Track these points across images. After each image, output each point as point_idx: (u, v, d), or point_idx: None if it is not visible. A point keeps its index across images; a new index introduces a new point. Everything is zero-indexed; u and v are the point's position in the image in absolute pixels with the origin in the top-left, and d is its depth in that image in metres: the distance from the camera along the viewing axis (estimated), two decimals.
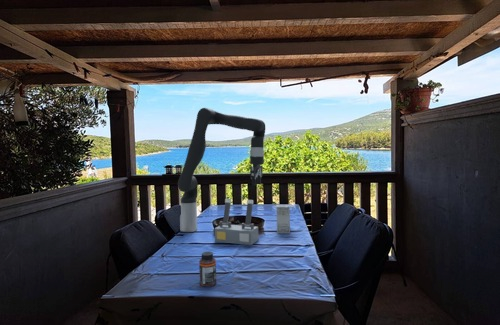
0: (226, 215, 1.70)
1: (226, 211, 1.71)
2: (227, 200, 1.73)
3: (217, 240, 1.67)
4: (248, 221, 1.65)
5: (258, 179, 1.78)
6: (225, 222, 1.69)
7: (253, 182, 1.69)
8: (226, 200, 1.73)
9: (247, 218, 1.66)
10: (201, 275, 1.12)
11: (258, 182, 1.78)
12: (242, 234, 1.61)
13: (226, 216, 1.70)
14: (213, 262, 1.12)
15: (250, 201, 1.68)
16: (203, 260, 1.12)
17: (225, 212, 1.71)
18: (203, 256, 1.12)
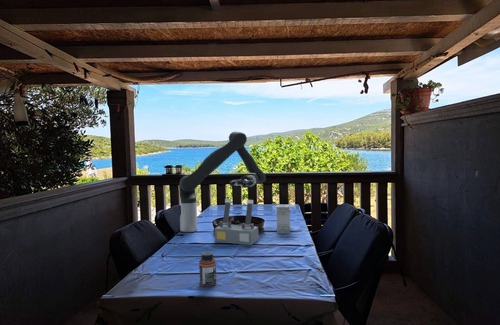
0: (226, 215, 1.70)
1: (226, 211, 1.71)
2: (227, 200, 1.73)
3: (217, 240, 1.67)
4: (248, 221, 1.65)
5: (233, 183, 1.89)
6: (225, 222, 1.69)
7: (246, 184, 1.84)
8: (226, 200, 1.73)
9: (247, 218, 1.66)
10: (201, 275, 1.12)
11: (231, 183, 1.87)
12: (242, 234, 1.61)
13: (226, 216, 1.70)
14: (213, 262, 1.12)
15: (250, 201, 1.68)
16: (203, 260, 1.12)
17: (225, 212, 1.71)
18: (203, 256, 1.12)
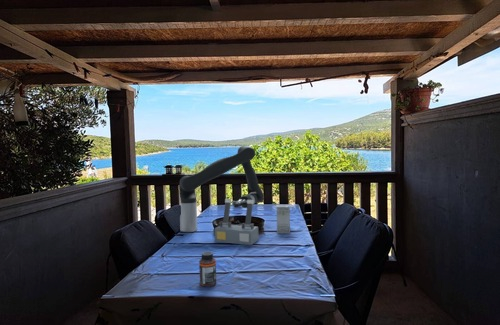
0: (226, 215, 1.70)
1: (226, 211, 1.71)
2: (227, 200, 1.73)
3: (217, 240, 1.67)
4: (248, 221, 1.65)
5: None
6: (225, 222, 1.69)
7: (239, 205, 1.84)
8: (226, 200, 1.73)
9: (247, 218, 1.66)
10: (201, 275, 1.12)
11: None
12: (242, 234, 1.61)
13: (226, 216, 1.70)
14: (213, 262, 1.12)
15: (250, 201, 1.68)
16: (203, 260, 1.12)
17: (225, 212, 1.71)
18: (203, 256, 1.12)
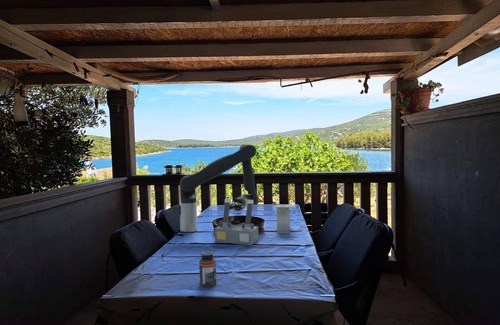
0: (226, 215, 1.70)
1: (226, 211, 1.71)
2: (227, 200, 1.72)
3: (217, 240, 1.67)
4: (248, 221, 1.65)
5: None
6: (225, 222, 1.69)
7: (231, 208, 1.74)
8: (226, 200, 1.72)
9: (247, 218, 1.66)
10: (201, 275, 1.12)
11: None
12: (242, 234, 1.61)
13: (226, 216, 1.70)
14: (213, 262, 1.12)
15: (250, 201, 1.68)
16: (203, 260, 1.12)
17: (225, 212, 1.71)
18: (203, 256, 1.12)
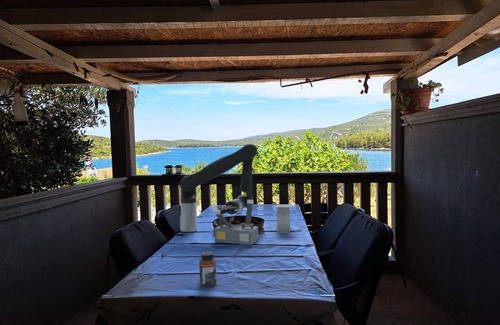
0: (222, 220, 1.66)
1: (220, 218, 1.65)
2: (216, 213, 1.60)
3: (217, 240, 1.67)
4: (248, 221, 1.65)
5: None
6: (225, 224, 1.69)
7: (224, 212, 1.65)
8: (215, 213, 1.61)
9: (247, 218, 1.66)
10: (201, 275, 1.12)
11: (221, 212, 1.65)
12: (242, 234, 1.61)
13: (223, 221, 1.66)
14: (213, 262, 1.12)
15: (250, 201, 1.68)
16: (203, 260, 1.12)
17: (220, 219, 1.65)
18: (203, 256, 1.12)
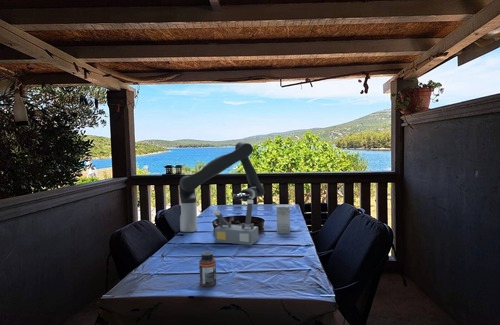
0: (222, 221, 1.66)
1: (220, 219, 1.65)
2: (215, 214, 1.60)
3: (217, 240, 1.67)
4: (248, 221, 1.65)
5: None
6: (225, 224, 1.69)
7: (239, 198, 1.85)
8: (214, 214, 1.60)
9: (247, 218, 1.66)
10: (201, 275, 1.12)
11: None
12: (242, 234, 1.61)
13: (223, 221, 1.66)
14: (213, 262, 1.12)
15: (250, 201, 1.68)
16: (203, 260, 1.12)
17: (220, 219, 1.65)
18: (203, 256, 1.12)
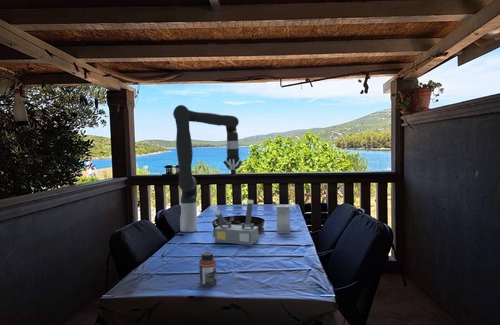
0: (222, 221, 1.66)
1: (220, 219, 1.65)
2: (215, 214, 1.60)
3: (217, 240, 1.67)
4: (248, 221, 1.65)
5: None
6: (225, 224, 1.69)
7: (235, 172, 1.98)
8: (214, 214, 1.60)
9: (247, 218, 1.66)
10: (201, 275, 1.12)
11: None
12: (242, 234, 1.61)
13: (223, 221, 1.66)
14: (213, 262, 1.12)
15: (250, 201, 1.68)
16: (203, 260, 1.12)
17: (220, 219, 1.65)
18: (203, 256, 1.12)
